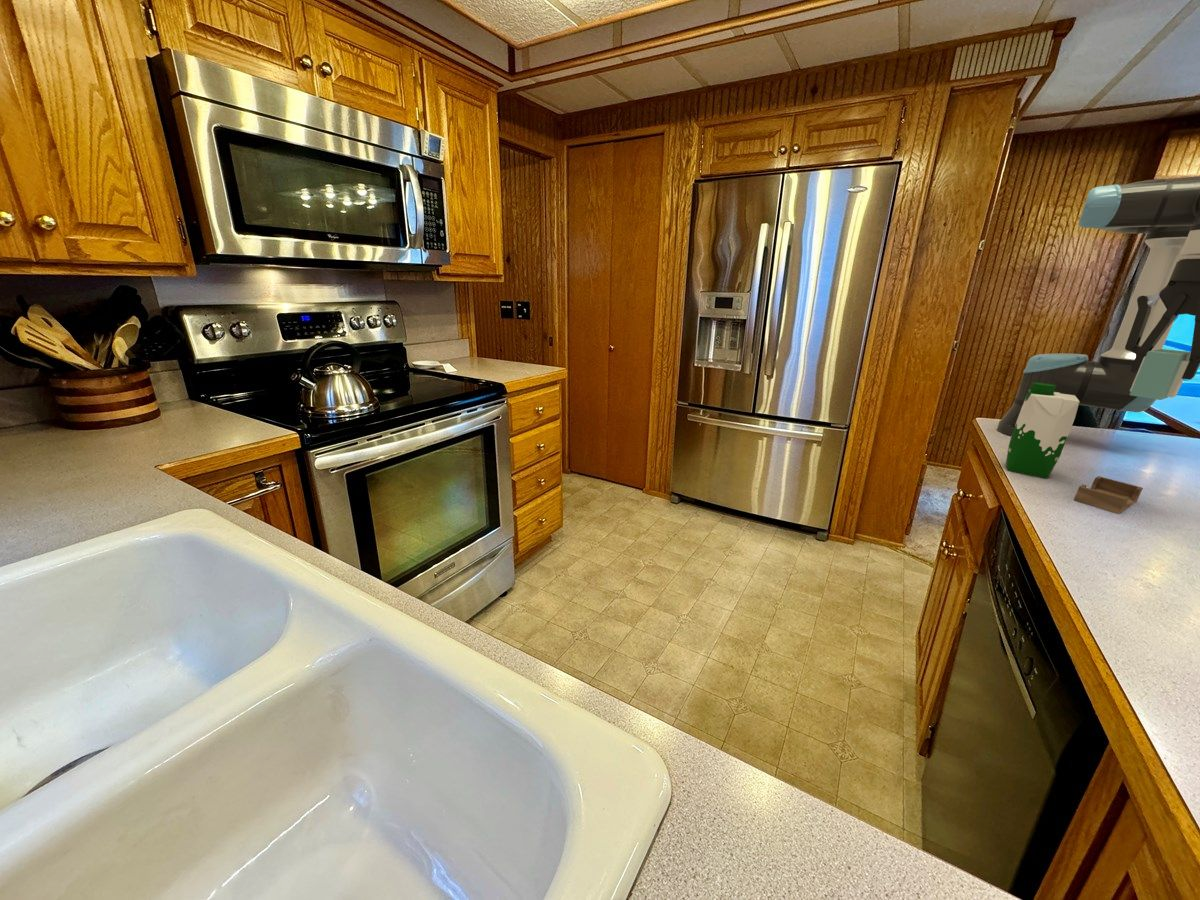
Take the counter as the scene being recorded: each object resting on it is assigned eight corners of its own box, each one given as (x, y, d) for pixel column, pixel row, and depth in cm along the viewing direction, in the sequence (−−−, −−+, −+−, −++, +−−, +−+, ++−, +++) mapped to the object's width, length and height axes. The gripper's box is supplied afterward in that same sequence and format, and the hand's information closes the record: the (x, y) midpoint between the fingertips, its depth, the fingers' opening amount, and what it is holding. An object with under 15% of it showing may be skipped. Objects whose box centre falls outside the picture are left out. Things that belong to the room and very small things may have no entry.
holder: (1093, 488, 102) (1098, 476, 101) (1136, 501, 97) (1143, 487, 96) (1073, 500, 96) (1079, 486, 95) (1118, 513, 91) (1125, 499, 90)
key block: (1143, 390, 93) (1161, 349, 90) (1173, 395, 90) (1193, 352, 87) (1129, 395, 88) (1147, 351, 86) (1160, 400, 85) (1181, 354, 83)
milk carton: (1001, 460, 117) (1029, 379, 110) (1050, 469, 112) (1082, 385, 105) (1002, 470, 111) (1031, 385, 104) (1054, 481, 106) (1089, 392, 99)
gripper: (1134, 257, 86) (1084, 386, 94) (1293, 256, 72) (1219, 406, 80) (1146, 259, 90) (1097, 382, 98) (1299, 258, 76) (1228, 402, 84)
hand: (1152, 393), depth 89 cm, fingers closed on key block, 4 cm apart
